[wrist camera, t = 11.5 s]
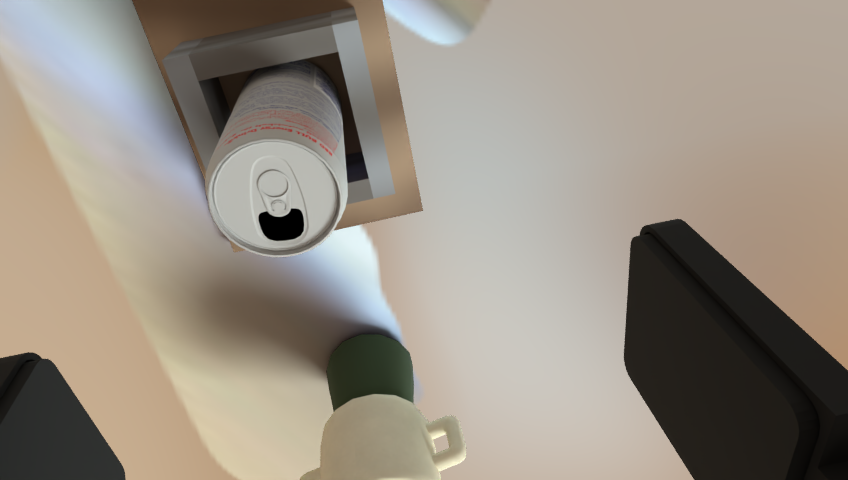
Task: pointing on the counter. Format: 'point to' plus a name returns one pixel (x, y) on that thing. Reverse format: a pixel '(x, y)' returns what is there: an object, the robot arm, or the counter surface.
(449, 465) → the character mug
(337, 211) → the energy drink
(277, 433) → the counter surface
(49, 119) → the counter surface
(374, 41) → the can holder
